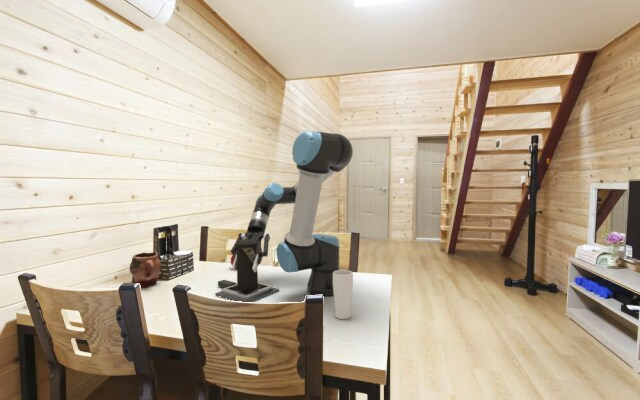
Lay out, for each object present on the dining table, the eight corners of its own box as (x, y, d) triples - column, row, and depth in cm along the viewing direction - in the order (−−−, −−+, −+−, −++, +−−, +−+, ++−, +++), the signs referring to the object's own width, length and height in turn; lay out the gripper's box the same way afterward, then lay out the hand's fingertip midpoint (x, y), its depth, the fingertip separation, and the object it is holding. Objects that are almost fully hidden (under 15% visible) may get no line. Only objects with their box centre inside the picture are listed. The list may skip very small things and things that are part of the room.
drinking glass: (357, 316, 108) (357, 271, 107) (344, 322, 103) (344, 276, 102) (341, 311, 112) (340, 268, 111) (328, 317, 107) (328, 272, 106)
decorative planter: (170, 286, 141) (169, 255, 140) (140, 294, 132) (139, 260, 131) (151, 278, 154) (150, 249, 153) (123, 284, 145) (121, 253, 144)
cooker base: (279, 291, 133) (279, 285, 133) (246, 305, 119) (245, 298, 118) (237, 281, 148) (237, 275, 148) (203, 291, 134) (203, 286, 133)
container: (253, 292, 126) (252, 242, 125) (232, 291, 128) (231, 241, 127) (262, 285, 134) (260, 238, 133) (242, 284, 136) (240, 237, 135)
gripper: (282, 229, 143) (271, 275, 128) (238, 229, 147) (222, 273, 132) (278, 219, 138) (266, 266, 123) (233, 218, 141) (216, 264, 126)
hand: (243, 270), depth 127 cm, fingers closed on container, 8 cm apart
